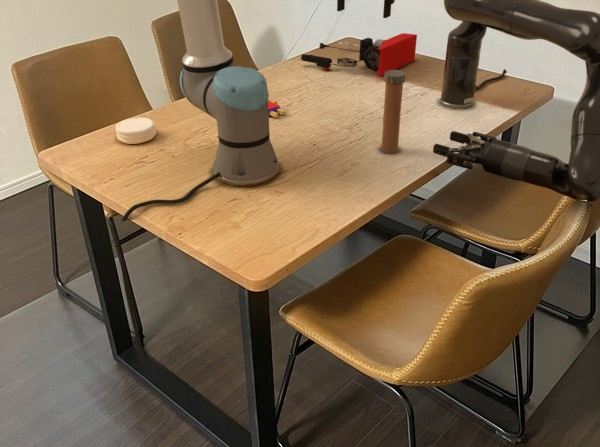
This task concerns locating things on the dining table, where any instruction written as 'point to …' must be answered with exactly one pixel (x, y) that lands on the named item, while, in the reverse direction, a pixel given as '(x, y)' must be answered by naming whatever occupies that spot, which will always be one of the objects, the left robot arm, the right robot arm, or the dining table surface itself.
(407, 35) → the electric hoist
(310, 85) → the dining table surface
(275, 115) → the toy figure
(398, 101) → the brown capped cylinder
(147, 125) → the coaster
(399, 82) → the lid
